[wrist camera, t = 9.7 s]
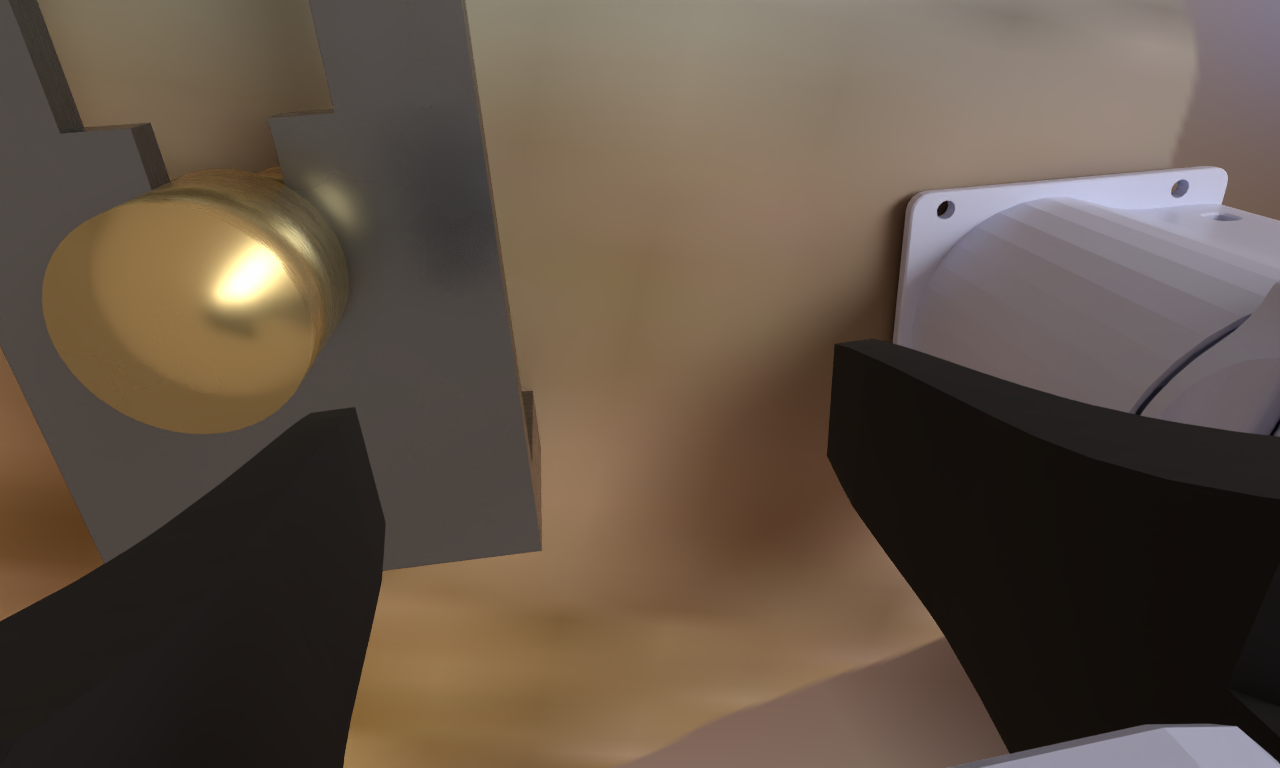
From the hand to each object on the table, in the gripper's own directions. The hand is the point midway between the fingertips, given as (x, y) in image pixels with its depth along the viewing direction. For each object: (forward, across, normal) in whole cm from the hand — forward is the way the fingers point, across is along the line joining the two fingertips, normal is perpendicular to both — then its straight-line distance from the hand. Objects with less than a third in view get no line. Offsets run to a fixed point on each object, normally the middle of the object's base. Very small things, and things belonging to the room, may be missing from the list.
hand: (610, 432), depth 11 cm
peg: (+10, +6, -1) cm, 12 cm away
